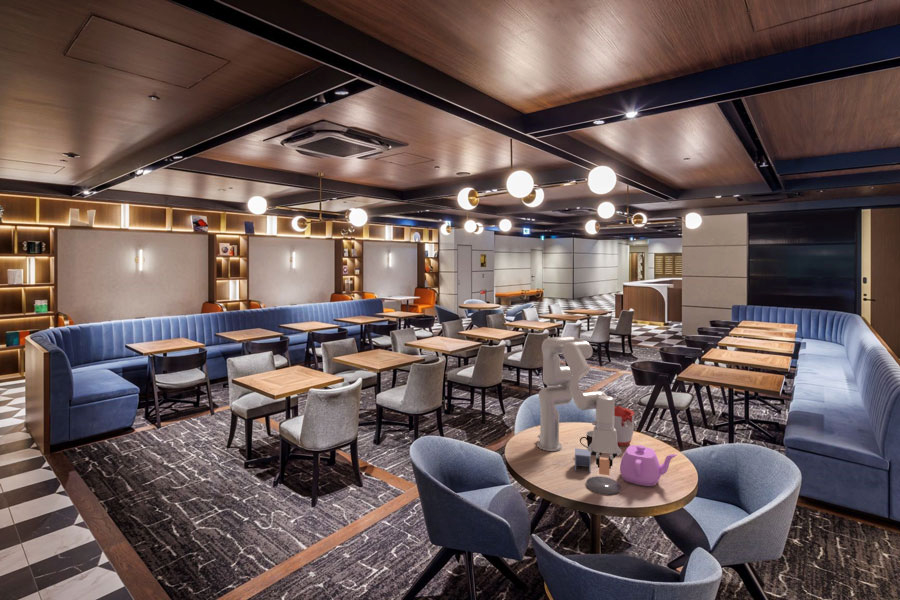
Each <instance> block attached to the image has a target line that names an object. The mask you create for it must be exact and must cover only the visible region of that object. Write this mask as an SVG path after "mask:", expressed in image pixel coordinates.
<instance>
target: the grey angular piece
mask: <svg viewBox="0 0 900 600" xmlns="http://www.w3.org/2000/svg"><path fill="white" fill-rule="evenodd" d="M591 456H592V455H591V452H590V451H588V449H587V448H586V449H584V448H577V447H575V448H574V472H577V466H581V467H588V473H591V465H592V461H591V460H592V459H591V458H592V457H591Z"/></svg>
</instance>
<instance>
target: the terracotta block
mask: <svg viewBox="0 0 900 600" xmlns="http://www.w3.org/2000/svg"><path fill="white" fill-rule="evenodd" d="M599 457H600V459H599V468H598V472H599V473H598V474H599V475H603V476H610V469H609V468H610V460H609V457H601V456H599Z"/></svg>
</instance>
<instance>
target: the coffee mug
mask: <svg viewBox="0 0 900 600" xmlns="http://www.w3.org/2000/svg"><path fill="white" fill-rule="evenodd" d="M585 434H586V436H582V437H580V438H579V444H580V445H582V446H583V447H585V448H586V449H588V447H589V445H590V444H591V443H592V436H593V430H588V431H586V433H585ZM583 439H585V440H586V443H587V446H586V445H585V444H583V443H582V440H583ZM599 455H600V456H602V453H599ZM591 456H593V454H592V453H591Z"/></svg>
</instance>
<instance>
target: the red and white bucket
mask: <svg viewBox="0 0 900 600" xmlns="http://www.w3.org/2000/svg"><path fill="white" fill-rule="evenodd" d="M634 422H635V411H633V410H632V409H630V408H626V407H622V406H621V405H617V406H615V407H614V428H615V429H616V433H617V445H618V447H621V446H624V447H626V446H629V445H630V443H631V441H632V438H633V435H634V429H635V428H634V427H635V423H634Z"/></svg>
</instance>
